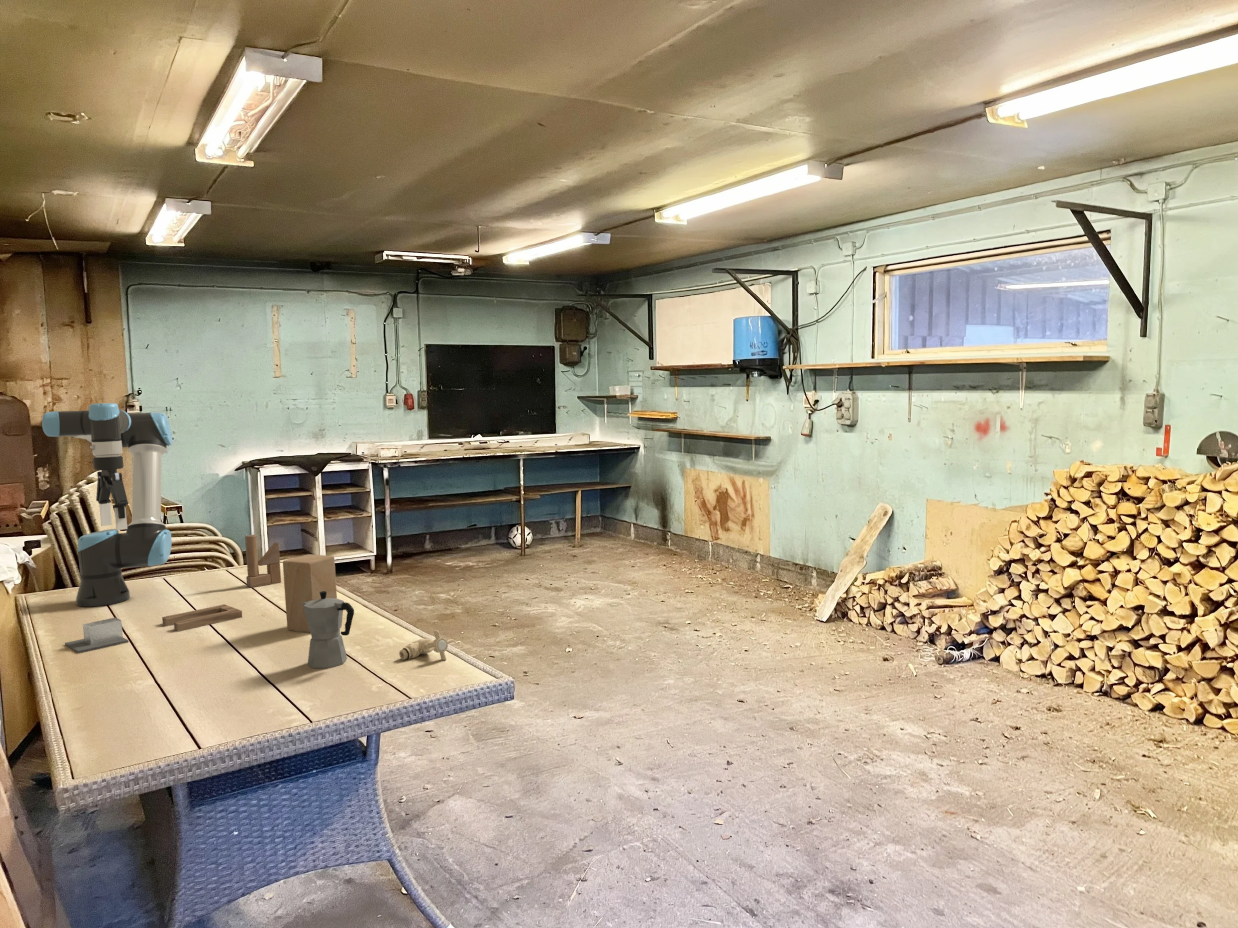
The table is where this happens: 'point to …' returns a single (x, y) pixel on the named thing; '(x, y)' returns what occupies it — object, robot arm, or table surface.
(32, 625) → the table surface
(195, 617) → the slot board
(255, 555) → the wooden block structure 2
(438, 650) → the valve
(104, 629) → the aluminium block
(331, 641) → the coffeepot
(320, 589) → the wooden block
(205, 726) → the table surface
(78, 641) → the rubber mat
